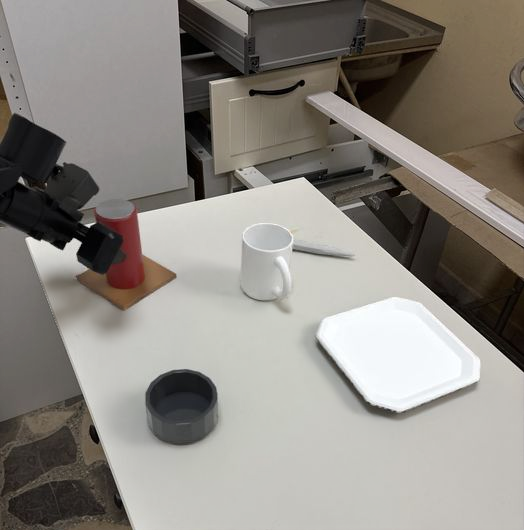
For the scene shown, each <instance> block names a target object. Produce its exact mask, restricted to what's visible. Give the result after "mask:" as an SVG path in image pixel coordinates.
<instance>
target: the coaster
mask: <svg viewBox="0 0 524 530" xmlns="http://www.w3.org/2000/svg"><path fill="white" fill-rule="evenodd" d="M142 256H143V265H144V273H145V279H144V281H143V282H142V283H141V284H140V285H139V286H137V287H134V288H131V289H117V288H114V287H112V286H110V285H109V284H108V282H107V279H106V274H103V275H101V274H99V273H96V272H94V271H92V270H90V269H89V268H87V269H86V270H84V271H82V272H81V273H79V274H77V275H76V276H75V279H76V281H78V282H79V283H81V284H82V285H84V286H85V287H87V288H88V289H89V290H91V291H93V292H94V293H96V294H98V295H99V296H100V297H102V298H104V299H106V300H107V301H109V302H110V303H112V304H113V305H115V306H116V307H117V308H120V309H121V310H122V311H126V310H127V309H129V308H130V307H132V306H134V305H135V304H137V303H139V302H140V301H141V300H143V299H145V298H146V297H149V296H150V295H151V294H153V293H154V292H156V291H157V290H159V289H161V288H162V287H164V286H165V285H167V284H169V283H170V282H172V281H173V280H175V279H176V278H177V273H176V272H174V271H172V270H170V269H169V268H167V267H166V266H163V265H162V264H160V263H159V262H157V261H155V260H154V259H151V258H149V257H147V256H146V255H144V254H143V253H142Z"/></svg>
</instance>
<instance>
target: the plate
mask: <svg viewBox="0 0 524 530" xmlns="http://www.w3.org/2000/svg"><path fill="white" fill-rule="evenodd" d="M315 337H316V340H317V341H318V343H319V344H320V345H321V346H322V348H323V350H325V351H326V353H327V354H328V356H330V358H331V359H332V360H333V362H334V363H335V364H336V365H337V367H338V368H339V369H340V370H341V372H342V373H343V374H344V375H345V376H346V378H347V380H348V381H349V382H350V383H351V384H352V385H353V387H354V388H355V389H356V391H357V392H358V393H359V394H360V395H361V397H362V398H363V399H364V401H365V402H366V403H367V404H368V405H370V406H373V407H376V408H380V409H384V410H387V411H390V412H393V413H397V414H401V413H405V412H408V411H410V410H412V409H415V408H417V407H419V406H422V405H424V404H427V403H430V402H432V401H434V400H437V399H440V398H442V397H444V396H447V395H449V394H452V393H454V392H457V391H460V390H462V389H464V388H467V387H469V386H471V385H474V384H476V383H478V382H479V381H480V379H481V363H482V362H481V360H480V358H479V357H478V356H477V355H476V354H475V353H474V352H473V351H472V350H471V349H470V348H469V347H468V346H466V345H465V343H464V342H462V341H461V340H460V339H459V338H458V337H457V336H456V335H455V334H454V333H453V332H452V331H451V330H450V329H449V328H448V327H446V325H444V323H443V322H441V321H440V320H439V319H438V318H437V317H436V316H435V315H434V314H433V313H432V312H431V311H430V310H428V308H427V307H426V306H424V304H423V303H421V302H419V301H417V300H416V301H415V300H412V299H407V298H404V297H399V296H392V297H389V298H385V299H382V300H378V301H375V302H373V303H369V304H365V305H363V306H359V307H356V308H353V309H349V310H346V311H343V312H339V313H336V314H333V315H329V316H326V317H324V318H322V319H321V321H320V324H319V326H318V329H317V331H316V334H315Z"/></svg>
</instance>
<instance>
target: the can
mask: <svg viewBox="0 0 524 530" xmlns="http://www.w3.org/2000/svg"><path fill="white" fill-rule="evenodd" d="M93 214H94V219H95V223H97V222H99V223H101V224H103V225H104V226H106V227H108V228H110V229H112V230H113V231H115V232H117V233H119V234H120V235H122V236H123V243H122V245H121V246H120V249H121V250H122V251H123V252H124V253H125V254H126V255H127V258H126V260H125V261H124V262H121V263H117V264H114V265H111V266H110V268H109V270H108V272H107V273H106V279H107V282H108V284H109V285H110V286H112V287H114V288H117V289H131V288H134V287H137V286H139V285H140V284H141V283H142V282H143V281H144V279H145V273H144V265H143V256H142V254H143V250H142V242H141V241H142V240H141V234H140V233H141V232H140V225H139V216H138V209H137V206H136V205H135V204H134V203H133V202H131V201H129V200H127V199H123V198H111V199H105V200H103V201H101V202H100V203H98V204H97V205H96V206H95V207H94V210H93Z"/></svg>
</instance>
